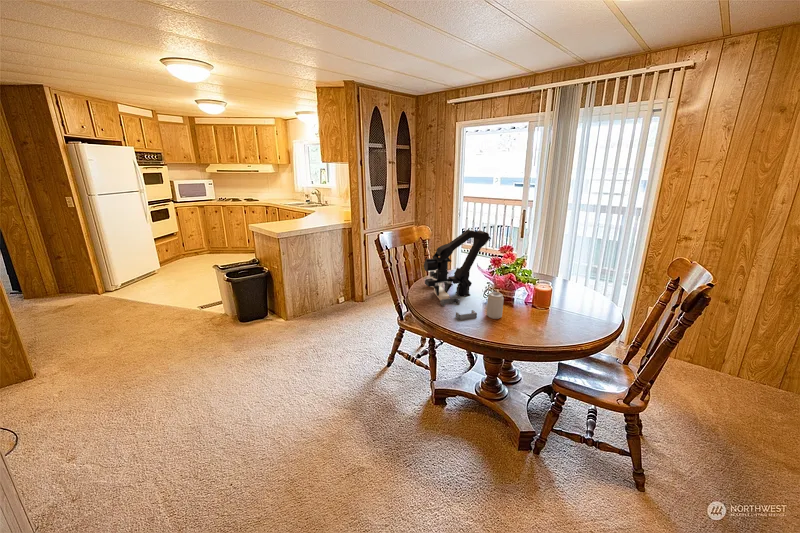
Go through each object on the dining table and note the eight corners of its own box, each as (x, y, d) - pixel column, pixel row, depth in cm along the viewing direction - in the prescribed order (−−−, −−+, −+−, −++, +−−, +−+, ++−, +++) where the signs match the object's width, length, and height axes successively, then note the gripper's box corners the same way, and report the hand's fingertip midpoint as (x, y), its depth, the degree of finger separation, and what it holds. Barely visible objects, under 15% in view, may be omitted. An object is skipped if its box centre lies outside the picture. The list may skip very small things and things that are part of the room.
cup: (425, 283, 213) (426, 268, 210) (440, 282, 215) (441, 268, 212) (430, 288, 204) (430, 273, 201) (445, 287, 205) (446, 272, 203)
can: (502, 314, 168) (504, 292, 164) (501, 320, 161) (503, 297, 158) (487, 312, 170) (488, 290, 167) (485, 318, 163) (487, 295, 160)
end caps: (456, 301, 184) (456, 297, 183) (476, 317, 164) (476, 313, 163) (440, 303, 181) (440, 299, 180) (459, 320, 161) (459, 315, 160)
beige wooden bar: (440, 292, 198) (440, 286, 197) (449, 302, 183) (449, 295, 182) (433, 292, 198) (434, 286, 197) (442, 302, 183) (442, 296, 182)
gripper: (450, 264, 196) (449, 289, 200) (421, 266, 190) (420, 292, 195) (459, 269, 186) (458, 295, 190) (429, 272, 180) (428, 299, 185)
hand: (441, 295), depth 190 cm, fingers closed on beige wooden bar, 4 cm apart
